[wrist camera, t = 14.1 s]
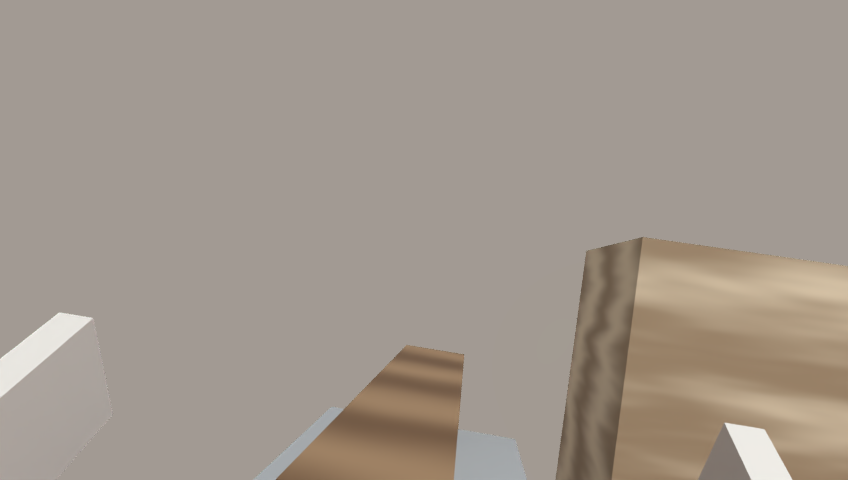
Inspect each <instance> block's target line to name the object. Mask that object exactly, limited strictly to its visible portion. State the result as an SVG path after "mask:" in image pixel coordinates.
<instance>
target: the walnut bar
mask: <svg viewBox="0 0 848 480" xmlns="http://www.w3.org/2000/svg"><path fill="white" fill-rule="evenodd" d="M463 363H464V354H458V353H451V352H446V351H440V350H434V349H428V348H422V347H415V346H409V345H406V346H405V347H404V349H402V351H401V352H400V353H399V354H398V355H397V356H396V357H395V358H394V359H393V360H392V361H391V362H390V363H389V364H388V365H387V366H386V367H385V368H384V369H383V370H382V371H381V372H380V373H379V374H378V375H377V376H376V377H375V378H374V379H373V380H372V381H371V382H370V383H369V384H368V385H367V386H366V387H365V388H364V389H363V390H362V391H361V392H360V393H359V394H358V395H357V397H356V398H355V399H354V400H353V401H352V402H351V403H350V404H349V405H348V406H347V407H346V408H345V409H344V410H343V411H342V412H341V413H340V414H339V415H338V416H337V417H336V418H335V419H334V420H333V421H332V422H331V423H330V424H329V425H328V426H327V427H326V428H325V429H324V430H323V431H322V432H321V433H320V434H319V435H318V436H317V437H316V438H315V439H314V441H313V442H312V443H311V444H310V445H309V446H308V447H307V448H306V449H305V450H304V451H303V452H302V453H301V454H300V455H299V456H298V457H297V458H296V459H295V460H294V461H293V462H292V463H291V464H290V465H289V466H288V467H287V468H286V469H285V470H284V471H283V472H282V473H281V474H280V475H279V476H278V477H277V478H276V480H454V472H455V460H456V448H457V435H458V423H459V411H460V399H461V387H462V374H463Z"/></svg>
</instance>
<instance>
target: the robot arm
mask: <svg viewBox="0 0 848 480" xmlns="http://www.w3.org/2000/svg"><path fill="white" fill-rule="evenodd" d="M112 415H113V412H112V407H111V402H110V397H109V393H108V388H107V383H106V378H105V373H104V368H103V363H102V358H101V354H100V349H99V344H98V339H97V334H96V329H95V324H94V319H93V318H90V317H84V316H77V315H72V314H65V313H58V314H57V315H56V316H54V317H53V318H52V319H51V320H50V321H48V322H47V323H46V324H44V325H43V326H42V327H41V328H39V329H38V330H36V331H35V332H34V333H33V334H31V335H30V336H29V337H28V338H26V339H25V340H24V341H22V342H21V343H20V344H19V345H17V346H16V347H15V348H13V349H12V350H11V351H10V352H8V353H7V354H6V355H4V356H3V357H2V358H1V359H0V480H56V479H57V478H58V477H59V476H60V475H61V474H62V472H63V471H64V470H65V469H66V468H67V467H68V466H69V464H70V463H71V462H72V461H73V460H74V459H75V457H76V456H77V455H78V454H79V453H80V452H81V450H82V449H83V448H84V447H85V446H86V445H87V444H88V442H89V441H90V440H91V439H92V438H93V437H94V436H95V435H96V433H97V432H98V431H99V430H100V429H101V428H102V427H103V425H104V424H105V423H106V422H107V421H108V420H109V418H110V417H111V416H112ZM698 480H792V478H791V476H790V474H789V473H788V471H787V469H786V467H785V465H784V464H783V462H782V460H781V458H780V456H779V455H778V453H777V451H776V449H775V447H774V445H773V444H772V442H771V440H770V438H769V436H768V435H767V433H766V431H765V429H760V428H754V427H748V426H742V425H736V424H730V423H724V424H723V426H722V428H721V431H720V433H719V435H718V437H717V439H716V442H715V444H714V446H713V448H712V450H711V452H710V455H709V457H708V459H707V461H706V463H705V466H704V468H703V470H702V472H701V474H700V476H699V479H698Z"/></svg>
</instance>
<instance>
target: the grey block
mask: <svg viewBox="0 0 848 480" xmlns="http://www.w3.org/2000/svg"><path fill="white" fill-rule="evenodd" d="M343 410H344V409H341V408H335V407H331V408H330V409H329V410H328V411H327V412H326V413H325V414H323V415H322V416H321V417H320V418H319V419H318V420H317V421H316V422H315V423H314V424H313V425H312V426H310V427H309V428H308V429H307V430H306V431H305V432H304V433H303V434H302V435H301V436H300V437H299V438H298V439H297V440H295V441H294V442H293V443H292V444H291V445H290V446H289V447H288V448H287V449H286V450H285V451H284V452H282V453H281V454H280V455H279V456H278V457H277V458H276V459H275V460H274V461H273V462H272V463H271V464H270V465H268V467H266V468H265V469H264V470H263V471H262V472H261V473H260V474H259V475H258V476H257V477H256V478H254V479H253V480H276V478H277V477H278V476H279V475H280V474H281V473H282V472H283V471H284V470H285V469H286V468H287V467H288V466H289V465H290V464H291V463H292V462H293V461H294V460H295V459H296V458H297V457H298V456H299V455H300V454H301V453H302V452H303V451H304V450H305V449H306V448H307V447H308V446H309V445H310V444H311V443H312V442H313V441H314V439H315V438H316V437H317V436H318V435H319V434H320V433H321V432H322V431H323V430H324V429H325V428H326V427H327V426H328V425H329V424H330V423H331V422H332V421H333V420H334V419H335V418H336V417H337V416H338V415H339V414H340V413H341V412H342V411H343ZM454 480H527V479H526V475H525V472H524V469H523V465H522V462H521V458H520V455H519V451H518V448H517V444H516V441H515V439H512V438H506V437H500V436H495V435H489V434H483V433H477V432H472V431H466V430H460V429H458V435H457V448H456V460H455V472H454Z"/></svg>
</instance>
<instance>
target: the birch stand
mask: <svg viewBox="0 0 848 480" xmlns="http://www.w3.org/2000/svg"><path fill="white" fill-rule="evenodd" d="M724 423H730V424H736V425H742V426H748V427H754V428H760V429H765V431H766V433H767V435H768V436H769V438H770V440H771V442H772V444H773V445H774V447H775V449H776V451H777V453H778V455H779V456H780V458H781V460H782V462H783V464H784V465H785V467H786V469H787V471H788V473H789V474H790V476H791V478H792V480H848V266H843V265H836V264H829V263H821V262H814V261H807V260H800V259H792V258H786V257H779V256H772V255H764V254H757V253H751V252H743V251H737V250H729V249H723V248H716V247H708V246H701V245H694V244H687V243H680V242H673V241H666V240H659V239H652V238H644V237H642V238H638V239H634V240H629V241H625V242H622V243H617V244H613V245H609V246H605V247H601V248H597V249H593V250H588V251H587V252H586V258H585V266H584V273H583V281H582V288H581V295H580V303H579V311H578V318H577V325H576V332H575V340H574V348H573V355H572V362H571V370H570V377H569V384H568V392H567V399H566V407H565V414H564V421H563V429H562V436H561V444H560V451H559V458H558V467H557V473H556V480H698V479H699V476H700V474H701V472H702V470H703V468H704V466H705V463H706V461H707V459H708V457H709V455H710V452H711V450H712V448H713V446H714V444H715V442H716V439H717V437H718V435H719V433H720V431H721V428H722V426H723V424H724Z"/></svg>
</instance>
